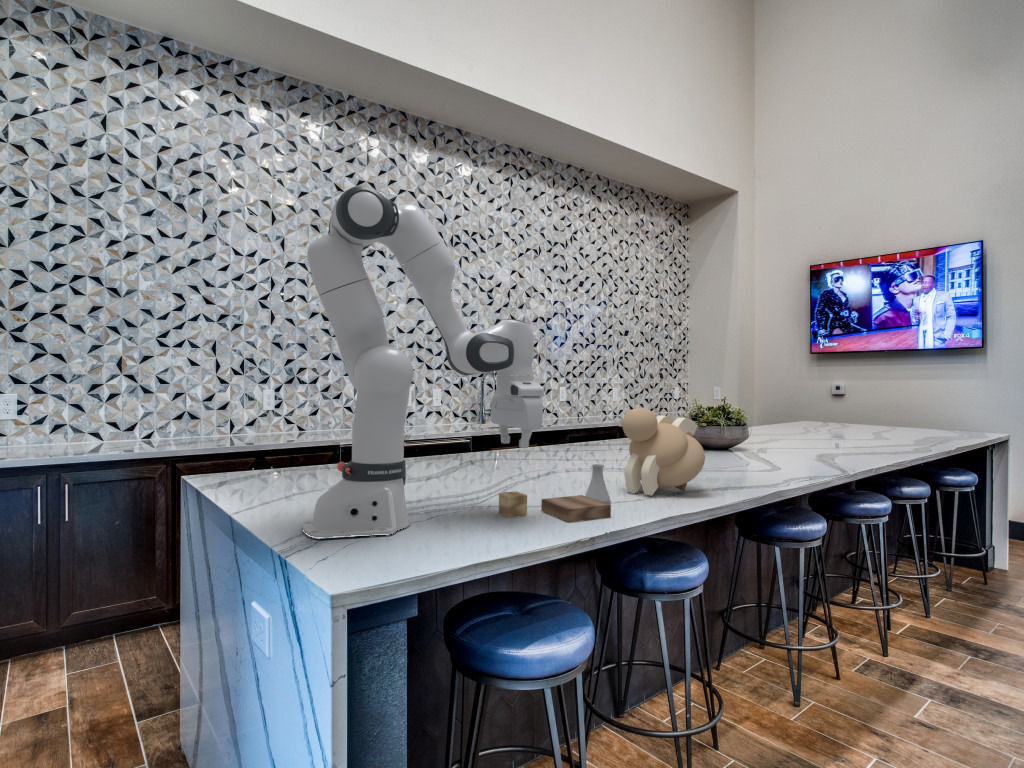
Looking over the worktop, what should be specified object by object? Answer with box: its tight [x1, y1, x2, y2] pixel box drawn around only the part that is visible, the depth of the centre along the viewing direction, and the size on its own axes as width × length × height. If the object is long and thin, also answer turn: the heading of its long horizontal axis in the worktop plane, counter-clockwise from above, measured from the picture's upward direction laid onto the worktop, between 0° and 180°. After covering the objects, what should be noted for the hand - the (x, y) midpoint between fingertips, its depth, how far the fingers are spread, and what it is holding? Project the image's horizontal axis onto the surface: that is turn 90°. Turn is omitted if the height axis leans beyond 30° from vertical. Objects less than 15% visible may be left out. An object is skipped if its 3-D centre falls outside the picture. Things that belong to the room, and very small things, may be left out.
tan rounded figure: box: [617, 407, 706, 496], centre depth 169 cm, size 30×28×23 cm
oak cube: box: [498, 491, 528, 519], centre depth 139 cm, size 5×5×5 cm
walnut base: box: [541, 494, 612, 523], centre depth 141 cm, size 12×12×3 cm
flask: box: [584, 463, 612, 504], centre depth 154 cm, size 7×7×10 cm
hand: (514, 445), depth 139 cm, fingers open, 8 cm apart
